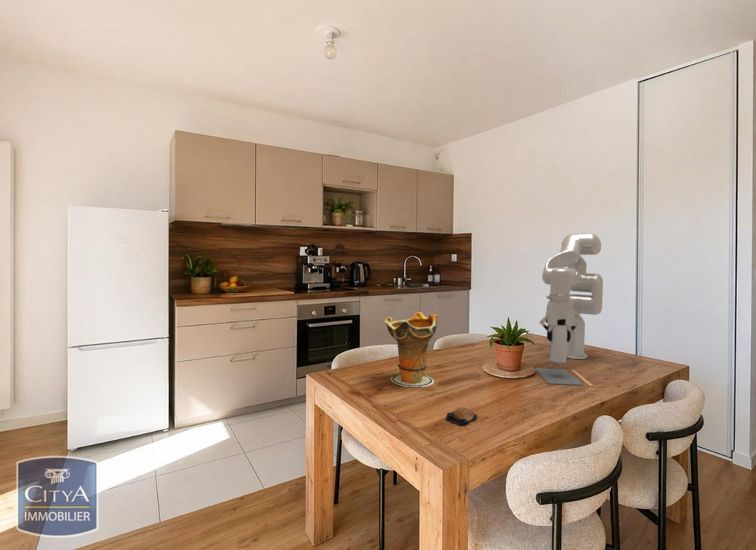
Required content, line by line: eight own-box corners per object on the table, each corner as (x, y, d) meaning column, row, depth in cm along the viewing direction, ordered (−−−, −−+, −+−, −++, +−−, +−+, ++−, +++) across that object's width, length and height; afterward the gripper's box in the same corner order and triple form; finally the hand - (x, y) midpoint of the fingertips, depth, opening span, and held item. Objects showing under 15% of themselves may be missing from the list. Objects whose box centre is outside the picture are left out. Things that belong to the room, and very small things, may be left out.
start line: (571, 370, 171) (571, 370, 171) (574, 370, 171) (574, 370, 171) (589, 386, 151) (589, 385, 151) (593, 386, 151) (593, 385, 151)
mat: (535, 369, 173) (535, 368, 173) (565, 370, 171) (565, 369, 171) (548, 384, 153) (548, 382, 153) (583, 385, 151) (583, 384, 151)
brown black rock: (458, 411, 128) (458, 400, 128) (481, 418, 123) (481, 407, 123) (441, 421, 120) (441, 410, 120) (465, 429, 115) (465, 417, 115)
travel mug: (568, 363, 162) (570, 316, 161) (563, 366, 157) (565, 317, 156) (553, 360, 166) (554, 314, 165) (547, 363, 161) (549, 316, 160)
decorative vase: (373, 380, 156) (375, 312, 155) (408, 371, 173) (410, 309, 172) (413, 393, 142) (417, 318, 141) (447, 381, 159) (450, 314, 158)
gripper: (540, 299, 158) (539, 342, 159) (585, 299, 155) (583, 343, 156) (535, 297, 165) (534, 338, 166) (578, 297, 163) (577, 339, 164)
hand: (558, 340), depth 161 cm, fingers closed on travel mug, 6 cm apart
